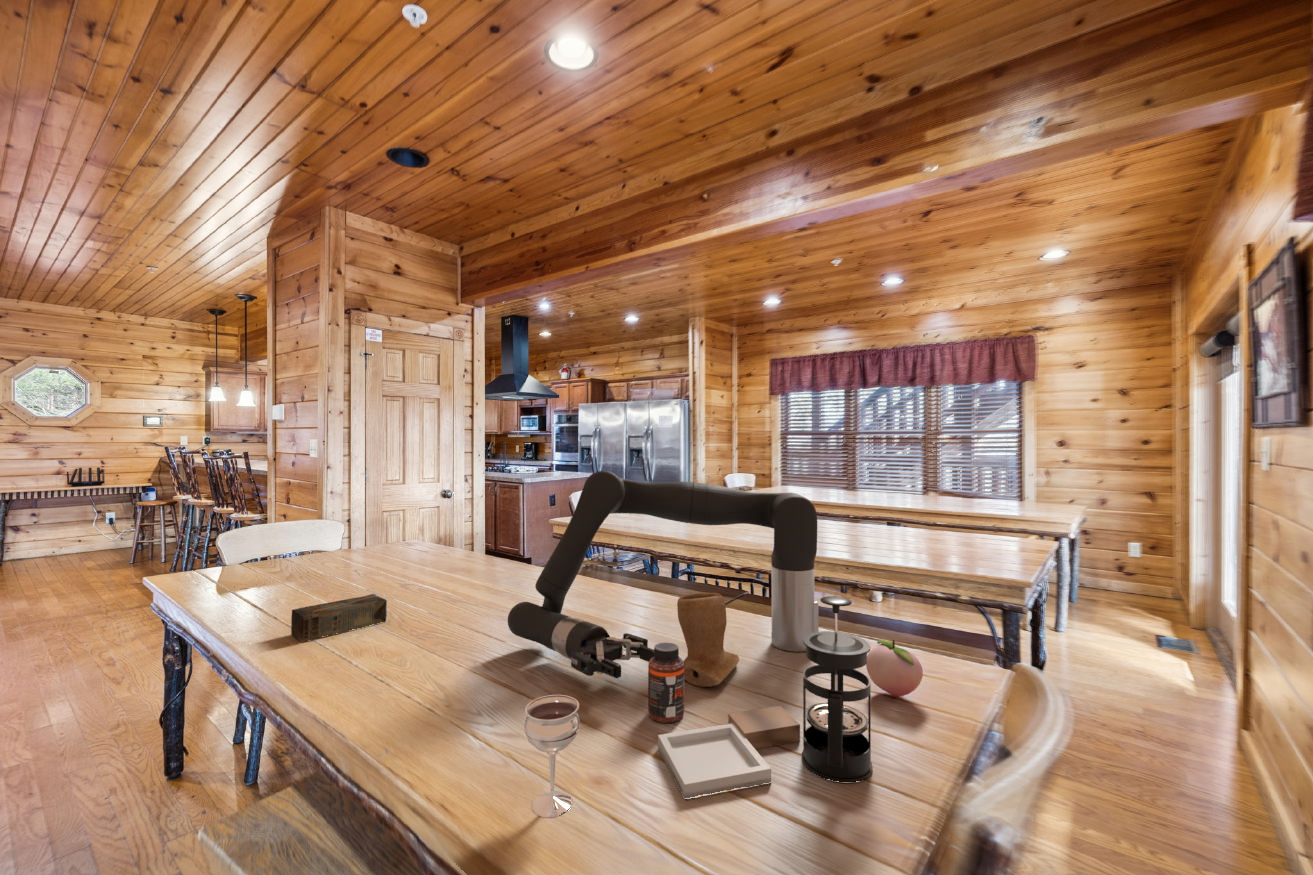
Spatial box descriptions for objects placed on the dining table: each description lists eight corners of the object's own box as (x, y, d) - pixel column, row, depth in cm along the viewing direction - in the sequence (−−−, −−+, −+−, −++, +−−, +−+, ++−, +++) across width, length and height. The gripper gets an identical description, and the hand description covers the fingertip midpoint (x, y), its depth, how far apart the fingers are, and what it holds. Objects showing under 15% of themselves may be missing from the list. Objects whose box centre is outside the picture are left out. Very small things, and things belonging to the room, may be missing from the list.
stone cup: (691, 653, 116) (691, 582, 116) (745, 663, 111) (745, 589, 111) (659, 681, 103) (659, 601, 103) (718, 694, 97) (718, 610, 97)
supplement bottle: (681, 726, 86) (681, 654, 86) (644, 722, 88) (644, 651, 88) (686, 708, 92) (686, 641, 92) (652, 705, 93) (652, 638, 94)
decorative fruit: (854, 690, 99) (854, 634, 99) (888, 682, 102) (888, 628, 102) (896, 714, 90) (896, 653, 90) (932, 704, 93) (931, 645, 94)
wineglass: (513, 814, 66) (513, 714, 66) (543, 781, 72) (543, 690, 73) (562, 828, 64) (562, 725, 64) (589, 793, 70) (589, 699, 70)
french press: (804, 737, 83) (804, 585, 83) (871, 748, 80) (870, 591, 80) (797, 782, 72) (797, 608, 72) (874, 798, 69) (873, 615, 69)
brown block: (780, 721, 88) (780, 705, 88) (800, 741, 82) (799, 724, 82) (728, 729, 85) (728, 713, 85) (744, 750, 80) (744, 733, 80)
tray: (733, 736, 84) (733, 723, 84) (771, 783, 72) (771, 768, 72) (658, 748, 80) (658, 734, 80) (684, 800, 69) (684, 784, 69)
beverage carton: (388, 623, 136) (388, 596, 136) (300, 645, 122) (300, 615, 122) (374, 616, 142) (374, 590, 142) (288, 636, 127) (288, 608, 127)
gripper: (549, 630, 101) (606, 654, 90) (608, 613, 111) (666, 632, 100) (549, 671, 101) (607, 700, 90) (608, 650, 111) (666, 673, 100)
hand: (638, 664), depth 95 cm, fingers open, 8 cm apart
